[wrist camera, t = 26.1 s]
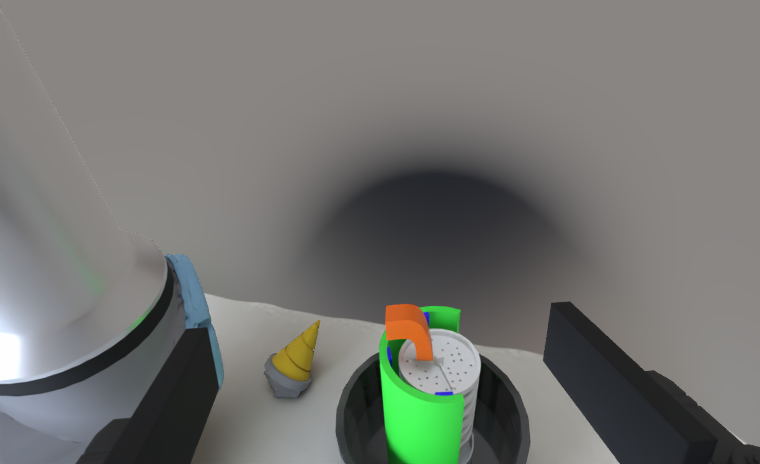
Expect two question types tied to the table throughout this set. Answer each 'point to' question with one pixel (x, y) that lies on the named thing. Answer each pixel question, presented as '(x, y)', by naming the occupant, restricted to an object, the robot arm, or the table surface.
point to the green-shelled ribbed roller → (428, 386)
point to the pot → (490, 426)
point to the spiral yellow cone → (292, 364)
